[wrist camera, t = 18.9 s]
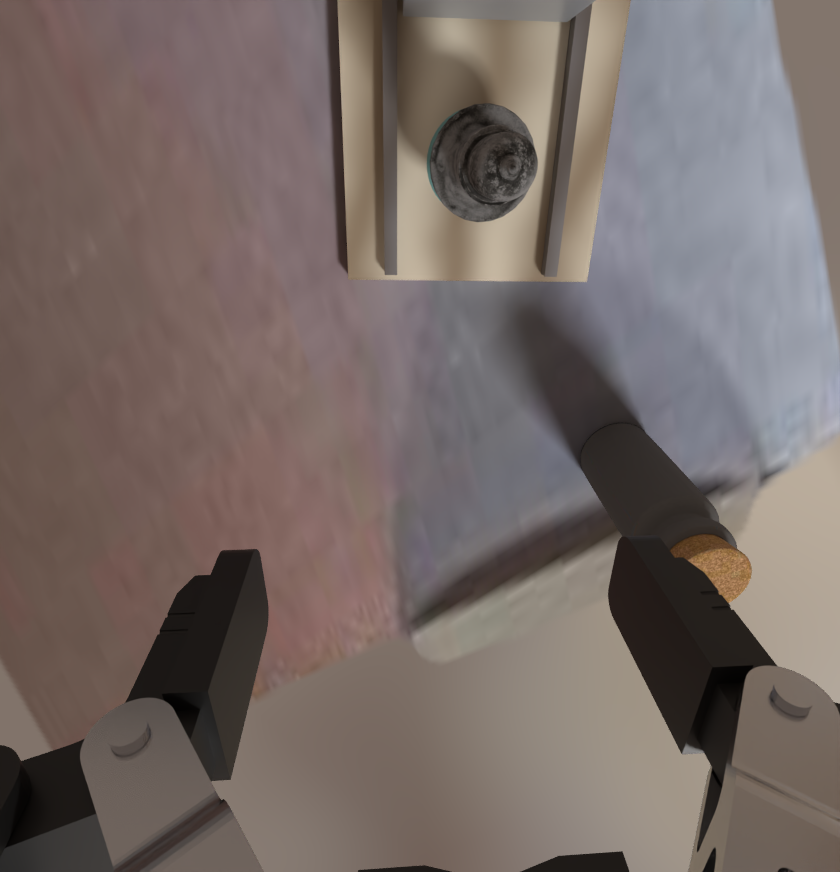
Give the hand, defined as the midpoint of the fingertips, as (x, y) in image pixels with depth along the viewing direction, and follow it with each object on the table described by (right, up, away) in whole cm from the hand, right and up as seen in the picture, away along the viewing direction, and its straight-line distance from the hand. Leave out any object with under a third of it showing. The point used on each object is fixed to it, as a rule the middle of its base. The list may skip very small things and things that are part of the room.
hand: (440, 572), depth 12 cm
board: (+3, +23, +21) cm, 31 cm away
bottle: (+15, +2, +33) cm, 36 cm away
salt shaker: (+3, +20, +21) cm, 29 cm away
